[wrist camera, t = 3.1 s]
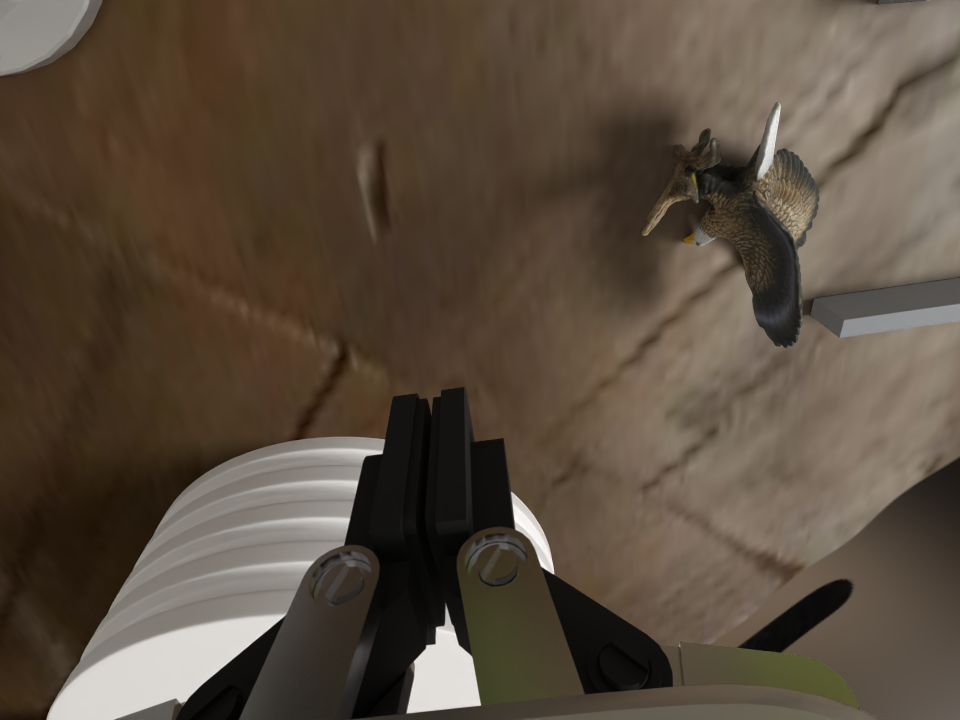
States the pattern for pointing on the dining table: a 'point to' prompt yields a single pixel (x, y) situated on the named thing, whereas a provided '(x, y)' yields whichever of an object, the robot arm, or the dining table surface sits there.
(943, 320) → the gray frame
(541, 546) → the plate stack
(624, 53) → the dining table surface
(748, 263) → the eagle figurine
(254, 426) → the dining table surface
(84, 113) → the dining table surface
